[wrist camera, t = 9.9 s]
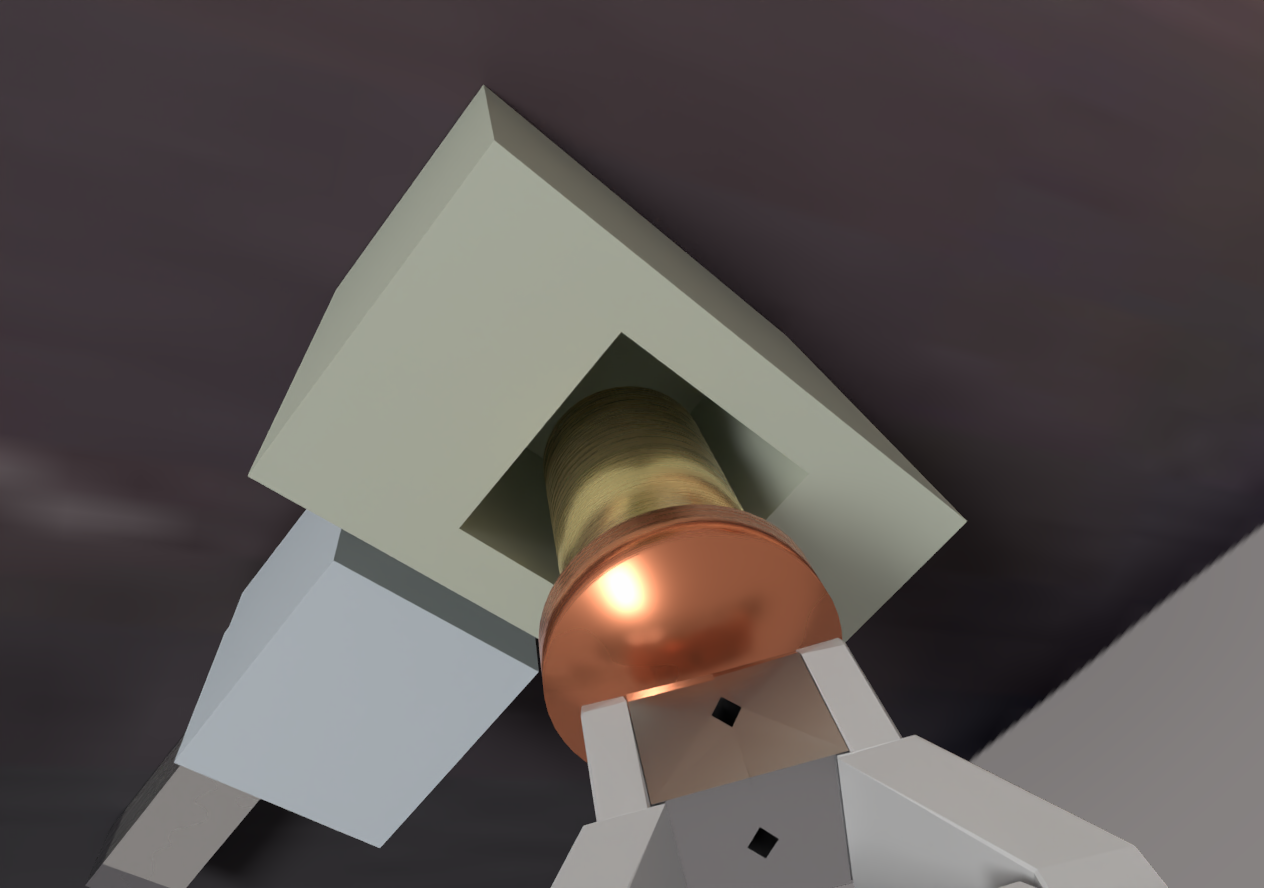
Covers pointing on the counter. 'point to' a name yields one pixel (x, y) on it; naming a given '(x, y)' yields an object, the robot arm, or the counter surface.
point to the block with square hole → (564, 384)
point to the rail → (169, 829)
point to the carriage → (350, 684)
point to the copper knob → (658, 561)
